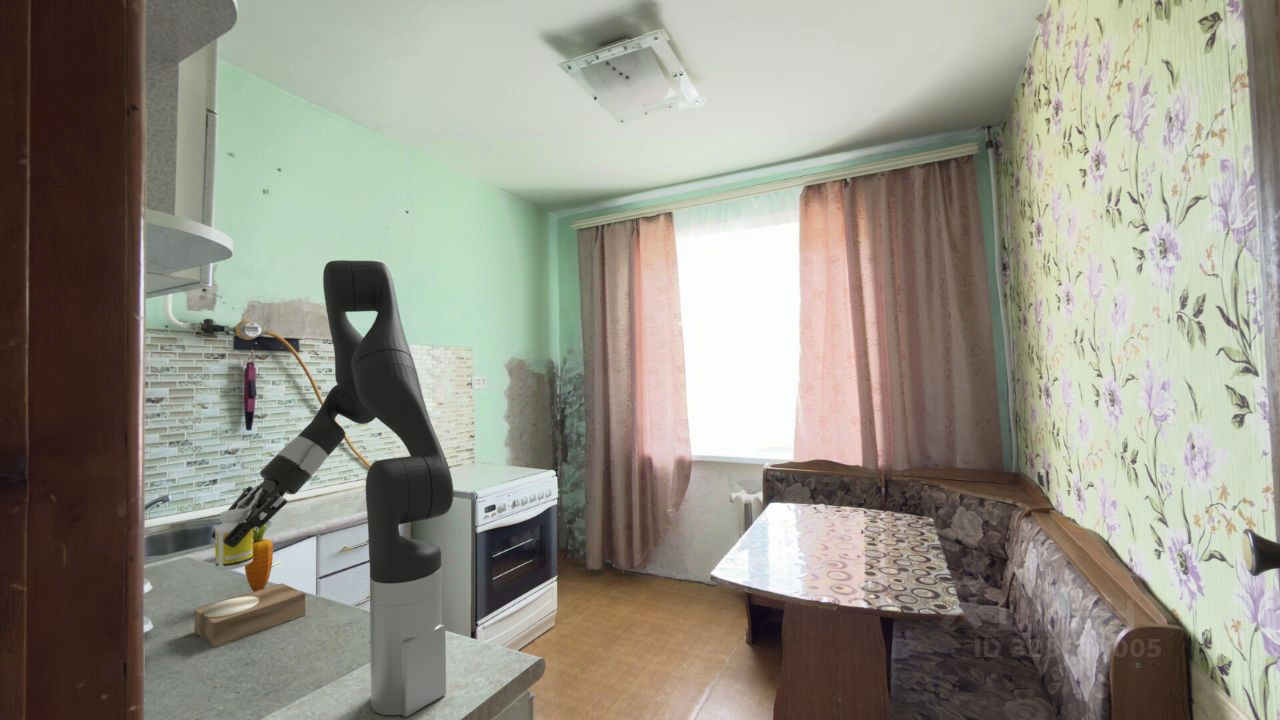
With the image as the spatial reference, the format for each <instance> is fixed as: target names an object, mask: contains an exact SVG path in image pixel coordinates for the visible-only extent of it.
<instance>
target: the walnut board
mask: <svg viewBox="0 0 1280 720" xmlns="http://www.w3.org/2000/svg"><path fill="white" fill-rule="evenodd" d="M303 615H304V616H305V615H306V593H305V592H302V591H300V590H298V589H296V588H294V587H292V586H289V585H288V584H286V583H279V584H276V585H271V586H269V587H265V588H264V589H261V590H258V591H255V592H253V591H252V592H248V593H246V594H243V595H242V594H241V595H237V596H235V597H232V598H229V599H226V600H225V599H224V600H221V601H218V602H214V603H212V604H209V605H206V606H202V607H198V608H195V609H194V620H193V621H194V626H193V627H194V633H195V634H196V635H197V636H199V637H200V638H202V639H203V640H204V641H206V642H207V643H208V644H209V645H211V646H212V647H213V648H217V647H219V646H222V645H225V644H228V643H230V642H233V641H235V640H239V639H242V638H245V637H247V636H251V635H252V634H255V633H258V632H261V631H265V630H267V629H270V628H272V627H276V626H278V625H281V624H284V623H286V621H287V622H290V621H292V620H291V619H293V620H294V618H295V619H297V617H298V618H300V616H301V617H304V616H303ZM289 620H290V621H289Z"/></svg>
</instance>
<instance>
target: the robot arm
mask: <svg viewBox="0 0 1280 720" xmlns="http://www.w3.org/2000/svg"><path fill="white" fill-rule="evenodd" d="M322 277H323V278H322V283H323V285H322V286H323V293H324V294H323V295H324V302H325V308H326V314H327V321H328V324H329V325H328V326H329V331H330V335H331V339H332V345H333V351H334V371H335V372H334V376H335V383H336V384H335V385H334V386H332V388H331V389H330V390H329V392H328V393H327V395H326V397H325V399H324V400H323V402H322V404H321V407H320V408H319V410H318V411H317V413H316V414H315V416H314V418H313V419H312V420H311V422H310V423H309V424H308V425H307V426H306V427H305V428H304V429H302V430H301V432H300V433H299V434H297V436H296V437H295V438H293V439H292V440H291V441H290V442H288V443H287V444H286V445H285V446H284V447H283V448H282V449H281V450H280V451H279V452H278V453H277V454H276V455H274V457H273V458H272V459H271V460H270V461H269V462H268V463H267V464H266V465H265V466H264V467H263V468H262V469H261V470H260V471H259V475H260V477H261V478H263V481H262V482H261V483H260V484H258V485H257V486H255V487H252V486H251V485H249V486H248V487H246V488H245V490H243V492H242V493H241V494H240V495H239V496H238V497H237V498H236V500H235V501H234V502H233V503H232V505H230V506H229V508H228V509H227V510H226V511H228V510H233V509H247V514H246V515H245V516H244V518H243V519H242V521H241V523H242V524H241V523H239V524H238V525H237V526H236V527H235V528H234V529H233V530H232V531H231V532H230V533H229V534H228V535H227V536H226V537H225V538H224V539H223V543H225V544H227V545H228V546H230V547H235V546H236V545H237V544H238V543H239V542H240V541H241V540H242V539H243V538H244V537H245V536H246V535H247V534H248V533H249V532H250V530H251V529H252V530H253V529H255V528H256V529H257V528H258V527H259V528H261V527H262V526H263V525H264V526H265V525H266V524H267V523H268V521H270V520H271V519H272V518H273V517H274V516H275V515H276V514H277V513H278V512H280V510H281V509H282V508H284V506H285V505H287V503H288V500H287V499H286V498H285V497H284V495H286V494H288V495H290V496H291V495H292V496H293V495H295V494H297V493H298V492H299V491H300V490H301V489H302V487H303V486H304V485H305V484H306V483H307V482H308V481H309V480H310V478H311V477H312V476H313V475H314V474H315V473H316V472H317V471H318V470H319V469H320V468H321V466H322V465H323V464H324V462H325V461H326V459H327V458H328V457H329V456H330V455H331V454H332V452H334V451H335V450H336V448H337V447H338V446H339V445H340V444H341V443H342V441H344V440H345V436H346V431H345V430H344V428H343V427H342V426H341V425H340V424H339V423H338V422H336V421H335V420H336V417H337V416H338V415H340V416H342V417H344V418H345V419H348V420H350V421H351V422H353V423H355V424H358V425H366V424H367V425H368V424H369V423H371V422H373V420H375V419H377V420H379V421H380V422H381V423H382V424H383V425H385V426H386V427H387V428H388V429H390V430H391V431H392V432H393V433H394V434H395V435H396V436H397V437H398V438H399V439H400V441H401V442H402V443H403V444H404V446H405V448H406V449H407V452H408V453H409V456H401V457H392V458H385V459H384V458H383V459H379V460H376V461H374V462H373V463H371V465H370V466H369V468H368V471H367V473H366V479H365V501H366V517H367V530H368V531H367V533H368V534H367V535H368V558H369V559H368V560H369V631H370V632H369V635H370V636H369V637H370V638H369V642H370V643H369V645H370V647H369V649H370V657H369V658H370V668H369V669H370V706H371V710H373V712H375V713H377V714H379V715H383V716H385V715H386V716H402V717H404V718H407V717H409V716H411V715H412V714H414V713H416V712H418V711H420V710H421V709H422V708H425V707H426V706H428V705H430V704H431V703H433V702H435V701H436V700H438V699H440V698H442V697H444V696H445V695H446V694H447V661H446V660H447V652H446V651H447V648H446V647H447V645H446V626H445V625H444V624H443V610H442V609H443V608H442V606H443V604H442V601H443V600H442V598H443V597H442V595H443V594H442V590H443V589H442V586H443V585H442V583H443V582H442V550H441V548H440V546H439V545H437V544H436V543H433V542H432V541H426V540H421V539H420V540H419V539H413V538H407V537H405V536H403V535H401V534H400V529H399V527H400V526H399V525H404V524H409V523H413V522H418V521H419V522H420V521H424V520H425V521H426V520H429V519H433V518H438V517H441V516H444V515H445V514H446V513H448V512H450V509H451V507H452V505H453V502H454V485H453V477H452V473H451V471H450V467H449V464H448V460H447V459H446V456H445V452H444V451H443V448H442V446H441V444H440V441H439V439H438V436H437V433H436V431H435V429H434V427H433V424H432V422H431V418H430V415H429V412H428V409H427V407H426V406H427V405H426V403H425V400H424V399H425V398H424V396H423V392H422V387H421V383H420V380H419V375H418V371H417V369H416V365H415V362H414V357H413V356H412V353H411V350H410V347H409V344H408V341H407V337H406V333H405V331H404V330H405V329H404V326H403V323H402V321H401V316H400V311H399V310H400V309H399V305H398V301H397V295H396V289H395V284H394V281H393V280H394V279H393V277H392V273H391V271H390V269H389V267H388V266H387V265H386V264H385V263H383V262H381V261H377V260H348V259H347V260H343V259H340V260H331V261H328V262H327V263H326V264H325V266H324V269H323V275H322ZM356 312H358V313H359V312H376V313H377V314H376V317H375V319H374V321H373V324H372V325H371V327H370V329H369V330H368V331H367V332H366V334H365V335H364V336H363V335H362V334H361V333H360V332H359V331H358V329H356V328H355V327H354V326H353V324H352V323H351V321H350V320H349V318H348V316H347V313H356ZM259 528H258V529H259ZM210 537H211V538H212V539H214V540H215V530H214V531H213V532H212V533H211V535H210Z"/></svg>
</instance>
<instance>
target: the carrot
mask: <svg viewBox="0 0 1280 720" xmlns="http://www.w3.org/2000/svg"><path fill="white" fill-rule="evenodd" d="M267 528H268V527H267V526H266V525H265V524H264V525H263V526H262V527H261V528H259V527H256V528H255V529H253V560H252V562H251V563H249V564H247V565H245V566H244V571H245V576H246V580H247V582H248V585H249V587H250V589H251V590H252V592H255V591H258V590H261V589H265V588H266V586H267V584H268V581H269V579H270V575H271V571H272V566H273V559H274V558H273V554H274V544H273V541H271V540H269V539H265V538H264V534H265V532H266V530H267ZM257 529H258V530H257Z"/></svg>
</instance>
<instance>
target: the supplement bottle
mask: <svg viewBox="0 0 1280 720" xmlns="http://www.w3.org/2000/svg"><path fill="white" fill-rule="evenodd" d="M227 510H228V509H227ZM227 510H225V511H224V510H223V511H221V512H220V513H219V517H220V518H219V519H220V522H221V524H218V526H216V528H215V530H214V531H215V539H214V541H215V543H214V544H215V550H214V551H215V552H214V554H215V555H214V556H215V558H214V559H215V565H214V566H215V569H216V570H221V571H224V570H226V571H227V570H234V569H237V568H242V567H245V565H247V564H249V563H251V562H252V560H253V541H254V540H253V534H254V533H253V530H252V529H251V530H250V532H249V533H248V534H247V535H246V536H245V537H244V538H243V539H242V540H241V541H240V542H239V543H238V544H237V545H236V546H235V547H230V546H228V545H227V544H225V543H223V539H224V538H225V537H226V536H227V535H228V534H229V533H230V532H231V531H232V530H233V529H234V528H235V527H236V526H237V525H238V524H239V523H241V521H242V519H243V518H244V516H245V515H246V514H247V509H233V510H228V511H227ZM241 524H242V523H241Z"/></svg>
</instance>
